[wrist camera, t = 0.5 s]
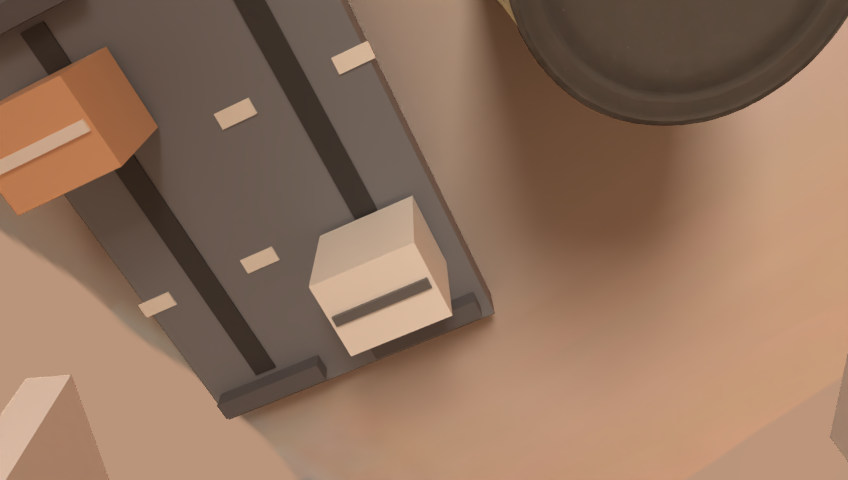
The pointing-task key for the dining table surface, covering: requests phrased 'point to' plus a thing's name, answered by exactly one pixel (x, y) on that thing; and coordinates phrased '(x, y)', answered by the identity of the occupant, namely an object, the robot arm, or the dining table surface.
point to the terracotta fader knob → (69, 130)
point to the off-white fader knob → (381, 277)
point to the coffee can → (674, 51)
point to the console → (243, 175)
